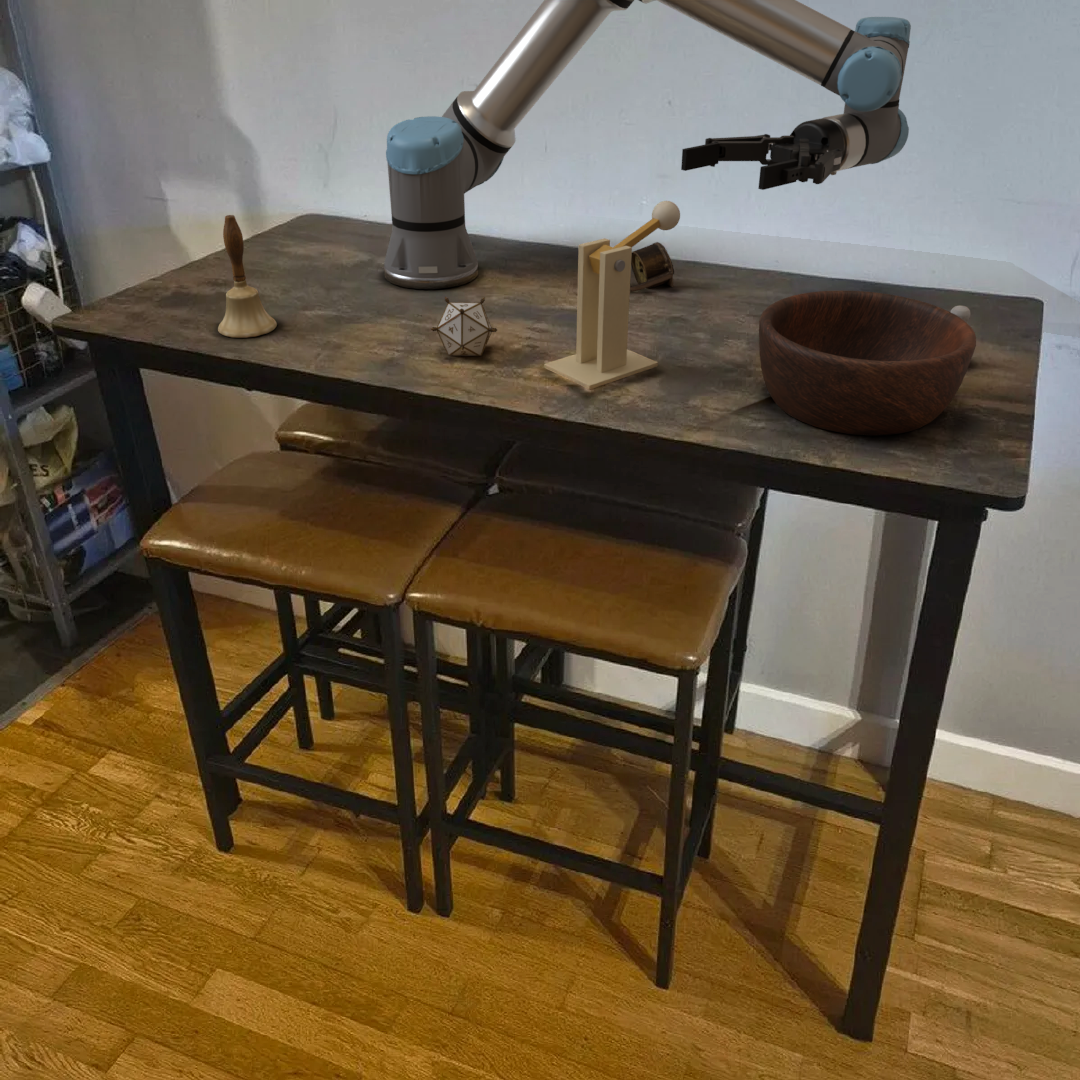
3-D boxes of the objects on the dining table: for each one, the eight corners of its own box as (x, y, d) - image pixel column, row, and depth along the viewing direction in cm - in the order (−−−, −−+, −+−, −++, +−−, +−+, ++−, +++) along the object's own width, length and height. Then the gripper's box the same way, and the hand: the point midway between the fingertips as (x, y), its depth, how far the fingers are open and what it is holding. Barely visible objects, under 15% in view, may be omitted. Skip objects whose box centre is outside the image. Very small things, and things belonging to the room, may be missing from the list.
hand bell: (206, 333, 151) (186, 220, 143) (240, 314, 158) (224, 205, 149) (254, 341, 149) (237, 227, 140) (288, 322, 155) (273, 211, 147)
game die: (471, 388, 144) (465, 350, 135) (423, 355, 146) (414, 315, 137) (512, 342, 147) (508, 301, 137) (464, 310, 149) (457, 268, 139)
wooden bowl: (714, 379, 138) (721, 303, 132) (873, 353, 145) (886, 279, 140) (826, 464, 118) (841, 378, 112) (1004, 427, 126) (1025, 345, 120)
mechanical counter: (682, 267, 160) (679, 234, 167) (598, 259, 159) (598, 226, 166) (673, 308, 165) (670, 275, 172) (592, 300, 164) (592, 266, 172)
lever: (668, 218, 138) (663, 193, 136) (688, 224, 136) (683, 198, 133) (590, 275, 133) (583, 250, 131) (609, 282, 131) (603, 257, 129)
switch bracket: (611, 352, 146) (616, 229, 137) (657, 372, 140) (665, 245, 131) (543, 373, 139) (544, 246, 130) (589, 395, 133) (593, 264, 124)
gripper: (895, 190, 143) (793, 217, 132) (754, 159, 160) (652, 180, 148) (905, 131, 139) (801, 154, 128) (759, 105, 156) (655, 124, 144)
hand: (721, 168), depth 138 cm, fingers open, 13 cm apart
